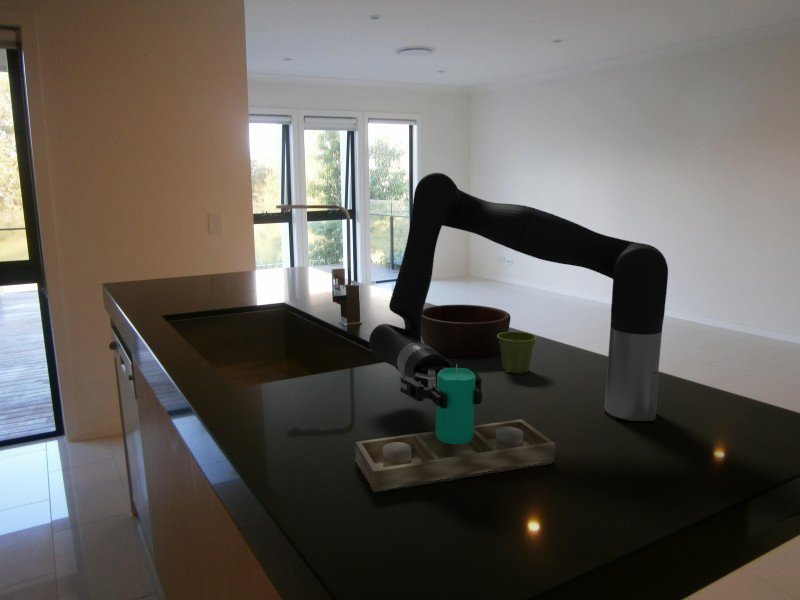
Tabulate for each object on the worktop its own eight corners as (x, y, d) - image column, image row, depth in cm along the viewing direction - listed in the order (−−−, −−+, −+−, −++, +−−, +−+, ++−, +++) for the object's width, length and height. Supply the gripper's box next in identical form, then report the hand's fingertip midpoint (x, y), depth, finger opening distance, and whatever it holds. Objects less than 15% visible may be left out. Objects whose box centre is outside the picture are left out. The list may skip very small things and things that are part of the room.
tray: (520, 437, 105) (521, 416, 104) (554, 463, 95) (555, 440, 94) (355, 462, 95) (355, 438, 94) (373, 493, 85) (373, 468, 85)
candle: (449, 425, 98) (451, 356, 96) (480, 435, 95) (483, 364, 92) (427, 436, 94) (429, 364, 92) (459, 447, 90) (462, 373, 88)
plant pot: (506, 378, 138) (507, 342, 136) (489, 366, 147) (490, 332, 145) (542, 374, 140) (544, 339, 139) (523, 363, 149) (525, 330, 148)
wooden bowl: (408, 358, 153) (409, 320, 151) (427, 335, 177) (427, 302, 175) (506, 365, 148) (507, 325, 146) (511, 341, 171) (513, 306, 170)
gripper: (385, 350, 103) (419, 381, 87) (460, 344, 108) (505, 373, 92) (385, 391, 105) (418, 429, 89) (458, 383, 109) (502, 418, 93)
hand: (462, 400), depth 91 cm, fingers closed on candle, 5 cm apart
